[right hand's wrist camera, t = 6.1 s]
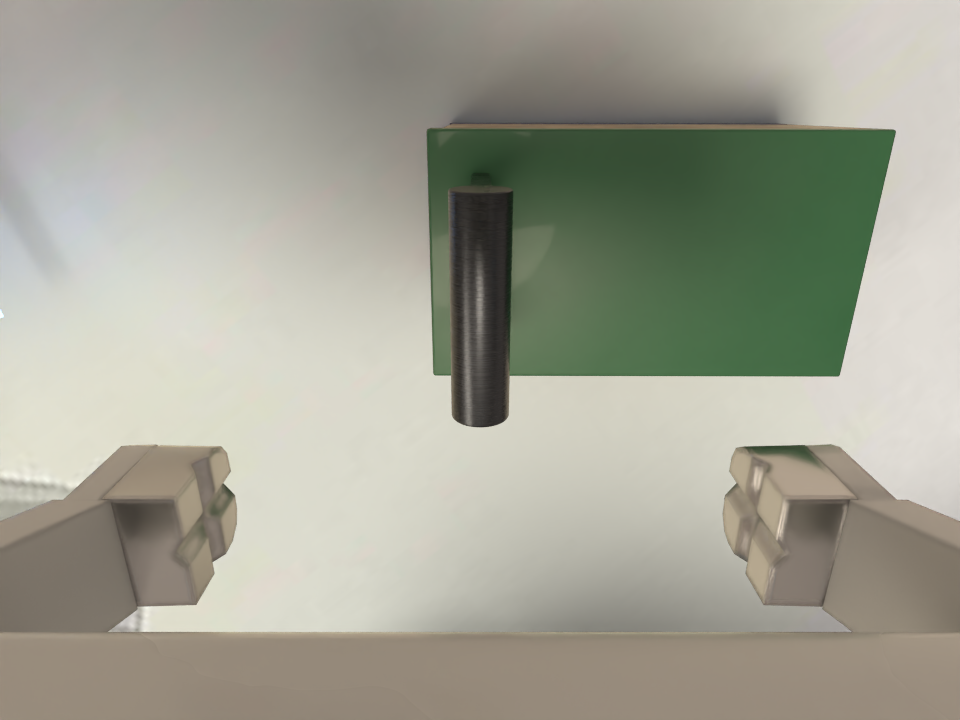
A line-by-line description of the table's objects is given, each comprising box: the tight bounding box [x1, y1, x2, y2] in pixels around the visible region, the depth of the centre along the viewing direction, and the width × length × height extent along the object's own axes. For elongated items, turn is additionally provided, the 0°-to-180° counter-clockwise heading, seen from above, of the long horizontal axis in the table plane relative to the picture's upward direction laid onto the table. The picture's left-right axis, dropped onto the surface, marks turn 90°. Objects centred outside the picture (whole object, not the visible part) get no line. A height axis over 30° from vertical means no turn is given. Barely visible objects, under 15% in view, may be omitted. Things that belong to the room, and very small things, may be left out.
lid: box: [427, 128, 896, 427], centre depth 22 cm, size 17×10×9 cm, turn 90°
